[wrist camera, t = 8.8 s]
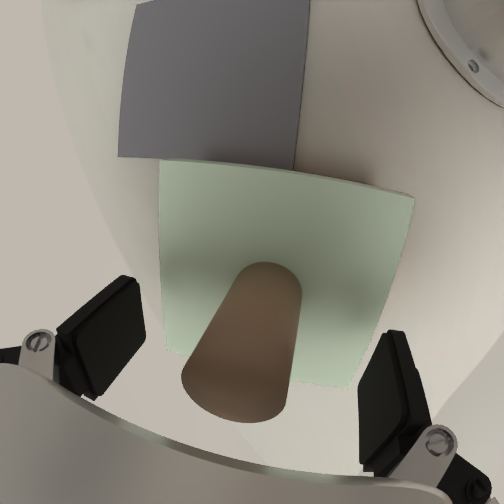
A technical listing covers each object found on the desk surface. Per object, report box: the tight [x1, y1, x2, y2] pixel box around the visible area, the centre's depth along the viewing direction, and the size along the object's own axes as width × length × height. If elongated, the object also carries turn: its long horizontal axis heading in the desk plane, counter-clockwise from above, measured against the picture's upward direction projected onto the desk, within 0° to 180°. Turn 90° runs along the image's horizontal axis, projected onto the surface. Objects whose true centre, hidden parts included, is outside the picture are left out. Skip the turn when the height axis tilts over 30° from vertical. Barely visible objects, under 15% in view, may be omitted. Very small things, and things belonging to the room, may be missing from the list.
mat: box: [118, 0, 310, 171], centre depth 14 cm, size 12×12×1 cm
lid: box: [158, 158, 415, 423], centre depth 11 cm, size 11×11×7 cm
